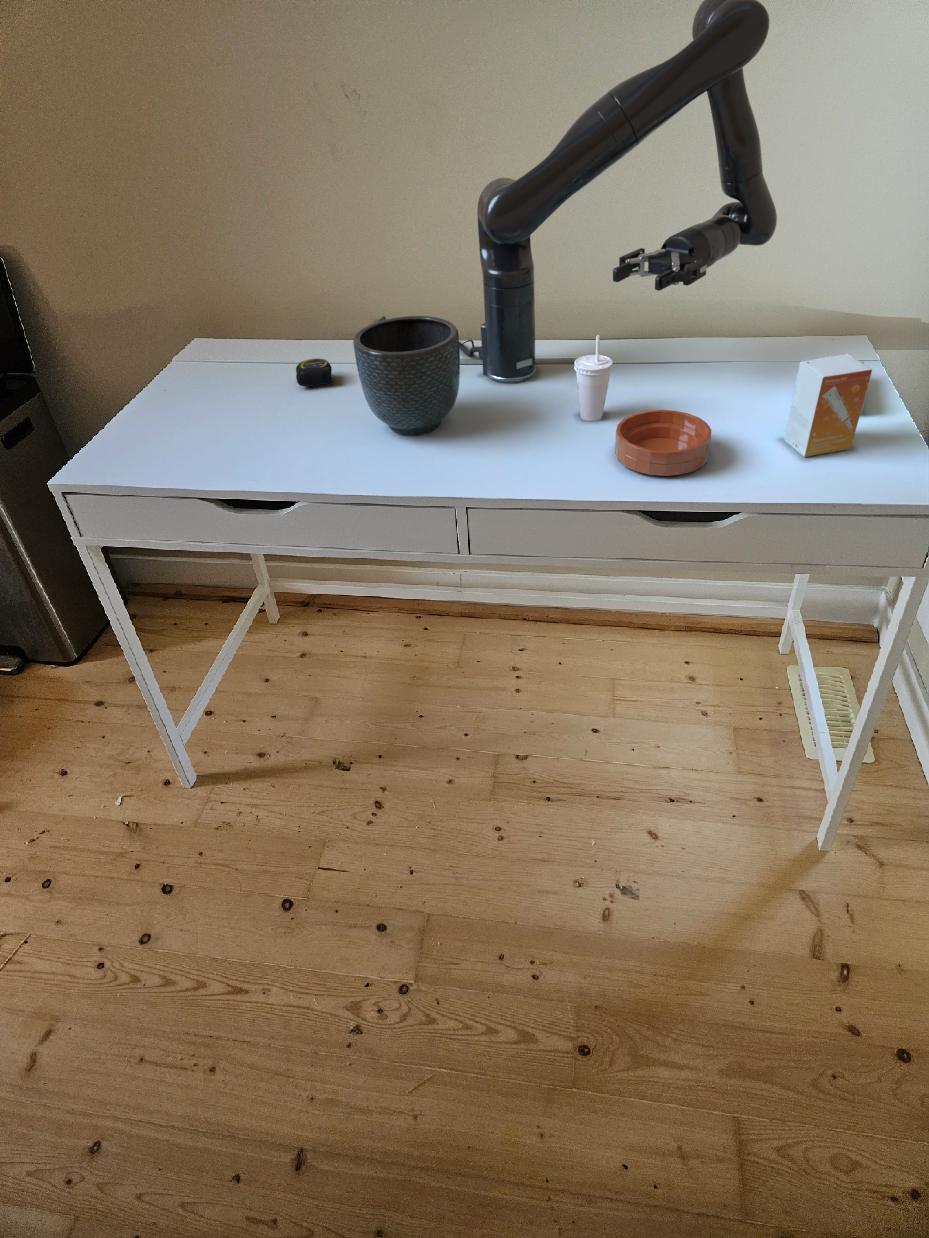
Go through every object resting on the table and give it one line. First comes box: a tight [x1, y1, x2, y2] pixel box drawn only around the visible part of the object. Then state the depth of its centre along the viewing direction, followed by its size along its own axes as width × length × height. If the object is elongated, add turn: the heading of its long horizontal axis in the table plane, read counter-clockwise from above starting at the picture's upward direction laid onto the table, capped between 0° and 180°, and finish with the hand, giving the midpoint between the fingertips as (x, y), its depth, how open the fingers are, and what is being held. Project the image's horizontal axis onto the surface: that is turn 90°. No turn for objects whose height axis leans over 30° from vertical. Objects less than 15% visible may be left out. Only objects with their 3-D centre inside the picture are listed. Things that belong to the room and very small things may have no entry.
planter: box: [352, 315, 461, 437], centre depth 137 cm, size 17×17×16 cm
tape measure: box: [295, 358, 333, 387], centre depth 158 cm, size 7×7×4 cm
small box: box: [783, 353, 873, 458], centre depth 123 cm, size 8×6×13 cm
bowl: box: [614, 409, 712, 477], centre depth 126 cm, size 14×14×4 cm
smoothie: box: [573, 334, 614, 422], centre depth 136 cm, size 6×6×14 cm
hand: (635, 280), depth 133 cm, fingers open, 8 cm apart
